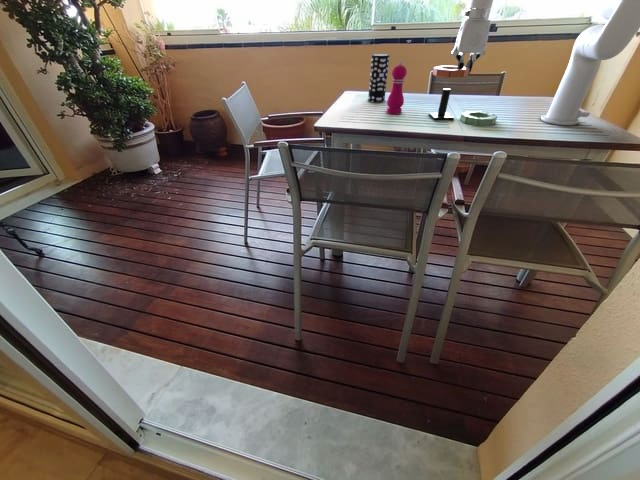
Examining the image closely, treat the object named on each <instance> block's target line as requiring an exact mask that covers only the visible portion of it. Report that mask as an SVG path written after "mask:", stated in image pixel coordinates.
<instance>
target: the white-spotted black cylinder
mask: <svg viewBox="0 0 640 480" xmlns="http://www.w3.org/2000/svg"><path fill="white" fill-rule="evenodd" d="M389 63H390V54H388V53H387V54H386V53H373V54H371V59H370V74H369V85H368V97H367V98H368V99H367V100H368V102H369V103H383V102H385V101H386V92H387V91H386V90H387V84H388V83H387V82H388V74H389Z"/></svg>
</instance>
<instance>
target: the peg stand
mask: <svg viewBox="0 0 640 480" xmlns="http://www.w3.org/2000/svg"><path fill="white" fill-rule="evenodd" d="M451 91H452V89H451V88H448V87H447V88H446V87H445V88H443V89H442V91H441V97H440V101H439V106H438V110H437V112H428V117H430V118H431V119H432V120H433V121H454V119H455V117H454V116H453V115H452V114H450V113H449V112H447V108H448V104H449V100H450V95H451Z"/></svg>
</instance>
